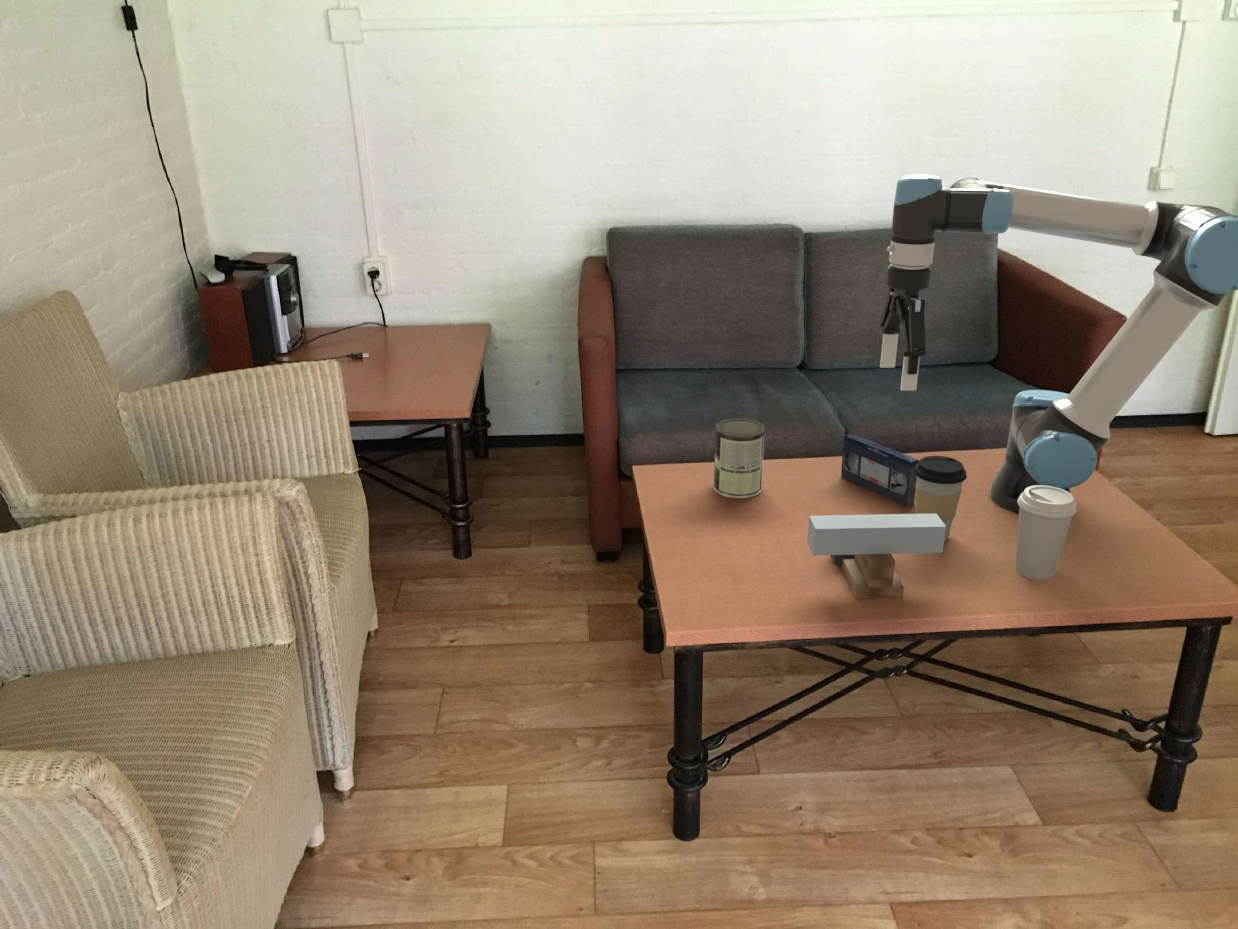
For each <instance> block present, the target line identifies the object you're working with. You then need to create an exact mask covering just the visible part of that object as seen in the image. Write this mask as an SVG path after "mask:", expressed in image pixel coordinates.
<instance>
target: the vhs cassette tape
mask: <svg viewBox="0 0 1238 929" xmlns="http://www.w3.org/2000/svg"><path fill="white" fill-rule="evenodd" d="M841 459H842V461H841V470H840V471H841V474H840V477H841V478H842V479H843V480H846V481H848V482H850V483H852V484H854V485H857V486H858V487H860V488H863V489H866V490H867V491H870V492H872V493H874V494H876V495H878V496H881V497H883V498H885V499H888V500H890V501H893V502H895V503H897V504H899V505H901V506H903V507H909V506H911V505H914V504H915V496H916V483H917V476H916V475H915V474H914V469H915V465H916V464H918V463H919V461H920V459H918V458H914V457H912V456H910V455H908V454H905V453H902V452H900V451H898V450H895V449H892V448H890V447H887V446H884V445H882V444H879V443H877V442H874V441H872V440H870V439H866V438H864V437H861V436H859V435H857V434H854V433H850V434H849V433H848V434H845V435H844V436H843V447H842V458H841Z"/></svg>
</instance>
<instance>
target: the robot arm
mask: <svg viewBox="0 0 1238 929" xmlns="http://www.w3.org/2000/svg"><path fill="white" fill-rule="evenodd" d="M891 221H892V222H891V235H890V236H891V237H890V246H887V248H886V251H887V252H889V256H888V261H889V263H890V264H889V266H887V272H886V285H887V286H888V295H887V298H886V301H885V305H884V309H883V313H882V316H881V319H880V322H879V326H880V328H882V342H881V343H882V344H881V350H880V351H881V353H880V363H879V368H881V369H884V368H885V369H886V368H887V369H891V368H893V369H895V367H896V360H897V350H898V341H899V333H901V328H900V326H901V325H902V329H903V337H904V345H905V351H904V352H903V353H902V355H901V356H902V357H903V360H902V361H903V362H902V371H901V380H900V389H899V390H900V391H903V392H905V391H908V392H909V391H917V387H918V379H919V370H920V362H921V357H925V356H926V354H927V351H926V350H927V349H926V324H925V321H926V320H925V311H926V310H925V308H926V300H925V299H920V297H919V295H920V294H919V292H920V291H922V290H927V289H928V288H929V287H930V284H931V283H930V282H931V274H932V268H931V266H930V265H932V264H934V263H933V262H934V252H935V244H936V241H935V240H936V233H956V234H957V233H961V234H980V235H981V234H982V235H983V234H984V235H986V236H988V235H994V234H995V235H996V234H1004V233H1006V232H1007V231H1008V230H1009V229H1011V230H1018V231H1025V232H1031V233H1037V234H1043V235H1049V236H1055V237H1061V238H1067V239H1073V240H1078V241H1079V240H1080V241H1085V242H1092V243H1097V244H1102V245H1108V246H1109V245H1110V246H1116V247H1121V248H1128V249H1131V250H1132V252H1133V253H1134V254H1135V255H1136V256H1142V257H1147V258H1152V259H1154V260H1158V261H1160V262H1159V263H1158V264H1157V266H1156V267H1155V269H1154V270H1153V271H1152V273H1153V274H1152V275H1153V280H1154V284H1153V286H1152V287H1151V289H1150V290H1149V291H1148V292H1147V293H1146V295H1145V296H1144V297H1143V299H1142V300H1141V301H1140V302H1139V304H1138V305H1137V307H1136V308H1135V309H1134V310H1133V312H1132V313H1131V314H1130V316H1129V317H1127V319H1126V321H1125V322H1124V324H1122V325H1121V327H1120V328H1119V330H1118V331H1117V332H1116V334H1115V335H1114V336H1113V338H1112V339H1111V340H1110V341H1109V342H1108V344H1107V345H1106V346H1105V348H1104V349H1103V350H1102V352H1101V353H1100V354H1099V355H1098V357H1097V358H1096V359H1095V361H1093V363H1092V365H1091V366H1090V367H1089V368H1088V370H1087V371H1086V372H1085V373H1084V375H1083V376H1082V378H1080V380H1079V381H1078V382H1077V384H1076V385H1075V386H1074V388H1073V389H1072V390H1071V392H1070V393H1065V392H1062V391H1056V390H1055V391H1054V390H1047V389H1027V390H1022V391H1020V392H1018V393H1016V396H1015V398H1014V403H1013V404H1012V413H1011V414H1012V415H1011V421H1010V427H1009V431H1008V432H1009V433H1008V440H1007V446H1006V450H1005V451H1006V453H1005V458H1004V461H1003V463H1002V465H1001V467H1000V469H999V470H998V472H997V474H996V476H995V477H994V480H992V484H991V488H990V497H991V499H992V500H993V502H994V503H996V504H997V505H998V506H1001V507H1003V508H1004V509H1008V510H1010V511H1013V512H1016V513H1019V509H1020V506H1019V505H1018V503H1017V500H1018V498H1019V496H1020V495H1021V494H1022V493H1023V492H1024V490H1025V489H1026V488H1027V487H1030V486H1034V485H1047V486H1053V487H1058V488H1061V489H1063V490H1066V491H1068V492H1069V493H1071V488H1072V489H1073V488H1076V487H1078V486H1080V485H1082V484H1083V483H1085V482H1086V481H1088V479H1089V478H1090V477H1092V475H1093V473H1094V472H1095V470H1096V467H1097V464H1098V463H1097V462H1098V455H1097V453H1098V452H1099V451H1100V450H1101V449H1102V448H1103V447H1104V445H1105V444H1106V443H1107V441H1108V440H1109V439H1110V437H1111V432H1110V424H1111V422H1112V421H1113V419H1115V417H1116V416H1117V415H1118V413H1119V412H1120V411H1121V410H1122V409H1123V408H1124V407H1125V405H1126V404H1127V403H1128V401H1129V400H1130V399H1131V398H1132V396H1133V395H1134V394H1135V393H1136V392H1137V390H1138V389H1139V388H1140V387H1141V386H1142V384H1143V383H1144V382H1145V380H1146V379H1148V377H1149V376H1150V374H1151V373H1152V372H1153V371H1154V369H1155V368H1156V367H1157V366H1158V364H1159V363H1160V362H1161V361H1162V359H1163V358H1164V357H1165V356H1166V354H1167V353H1168V352H1169V351H1170V349H1171V348H1172V347H1173V346H1174V345H1175V343H1176V342H1177V341H1178V340H1179V339H1180V337H1182V335H1183V333H1184V332H1185V331H1186V330H1187V329H1188V327H1190V325H1191V324H1192V323H1193V321H1194V320H1195V319H1196V317H1198V316H1199V314H1200V313H1201V312H1203V311H1207V310H1212V309H1216V308H1217V307H1219V305H1220V304H1221V302H1222V301H1223V300H1224V299H1225V297H1226V296H1227V295H1228V294H1229V293H1232V292H1235V291H1237V290H1238V216H1237V215H1235V214H1232V213H1230V212H1226V211H1225V210H1223V209H1221V208H1219V207H1215V206H1211V205H1201V204H1183V203H1170V202H1161V201H1155V200H1151V201H1149V202H1148V203H1146V204H1145V205H1142V204H1141V205H1140V204H1134V203H1130V202H1129V203H1128V202H1122V201H1114V200H1108V199H1103V198H1095V197H1089V196H1083V195H1076V194H1069V193H1063V192H1058V191H1050V190H1043V189H1038V188H1037V189H1036V188H1031V187H1025V186H1024V187H1023V186H1019V185H1018V186H1017V185H1011V184H1005V183H996V182H990V181H985V180H984V181H983V180H981V179H979V178H977V177H972V176H964V177H960V178H958V179H956V180H955V181H953V182H952V183H951V184H950V186H949V187H943V183H942V178H941V177H940V176H938V175H934V174H933V175H932V174H922V173H919V174H918V173H917V174H915V173H914V174H906V175H903V176H901V177H899V179H898V180H897V182H896V189H895V195H894V201H893V211H892V220H891ZM901 323H902V324H901ZM1071 494H1072V493H1071Z"/></svg>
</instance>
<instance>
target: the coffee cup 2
mask: <svg viewBox="0 0 1238 929" xmlns="http://www.w3.org/2000/svg"><path fill="white" fill-rule="evenodd" d="M1017 503H1018V505H1019V506H1020V509H1019V512H1018V526H1017V527H1018V528H1017V541H1016V555H1015V556H1016V557H1015V571H1016V572H1017V573H1018V574H1019V575H1021V576H1023V577H1026V578H1028V579H1031V580H1035V581H1037V580H1039V581H1046V580H1050V579H1053V578H1054V577H1055V574H1056V570H1057V567H1058V564H1059V561H1060V558H1061V554H1062V551H1063V548H1064V544H1065V542H1066V541H1065V540H1066V538H1067V535H1068V531H1069V528H1070V524H1071V521H1072V518H1073V516H1074V515H1075V514H1077V512H1078V508H1077V503H1076V502H1075V497H1074V495H1073V494H1072V493H1069V492H1068V491H1066V490H1063V489H1061V488H1058V487H1053V486H1047V485H1034V486H1030V487H1027V488H1026V489H1025V490H1024V492H1023V493H1022V494H1021V495H1020V496H1019V498H1018V500H1017Z"/></svg>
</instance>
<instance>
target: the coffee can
mask: <svg viewBox="0 0 1238 929" xmlns="http://www.w3.org/2000/svg"><path fill="white" fill-rule="evenodd" d="M714 426H715V428H714V431H715V437H714V438H715V445H714V446H715V447H714V470H713V471H714V472H713V473H714V475H713V478H714V479H713V491H714V492H715V493H716V494H718V495H720V496H722V497H725V498H729V499H736V500H737V499H744V500H745V499H749V498H754V497H757V496H758V495H760V494H761V493H762V490H763V488H762V487H763V486H762V485H763V468H764V467H763V464H764V449H765V448H764V447H765V433H766V426H765V425H764V423H762V422H760V421H757V420H754V419H750V418H741V417H740V418H738V417H735V418H728V419H724V420H720V421H718V422H717V423H715V425H714Z"/></svg>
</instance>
